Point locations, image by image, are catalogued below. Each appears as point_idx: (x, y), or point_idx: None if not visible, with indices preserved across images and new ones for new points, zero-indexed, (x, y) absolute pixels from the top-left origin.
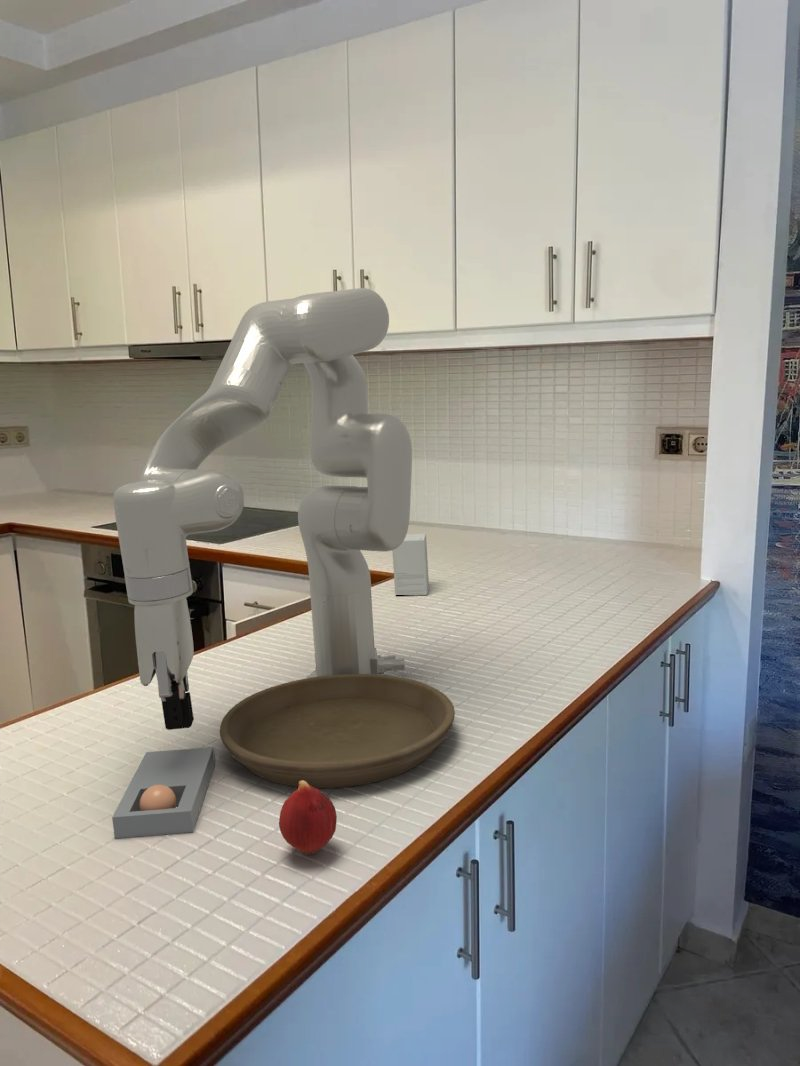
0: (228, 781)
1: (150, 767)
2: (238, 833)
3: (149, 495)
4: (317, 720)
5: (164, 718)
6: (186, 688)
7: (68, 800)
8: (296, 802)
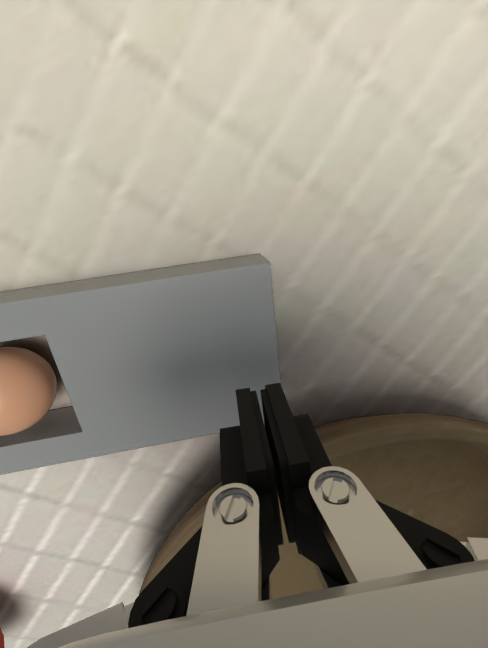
0: (203, 438)
1: (171, 313)
2: (12, 510)
3: None
4: (423, 516)
5: (239, 412)
6: (316, 568)
7: (80, 73)
8: None
